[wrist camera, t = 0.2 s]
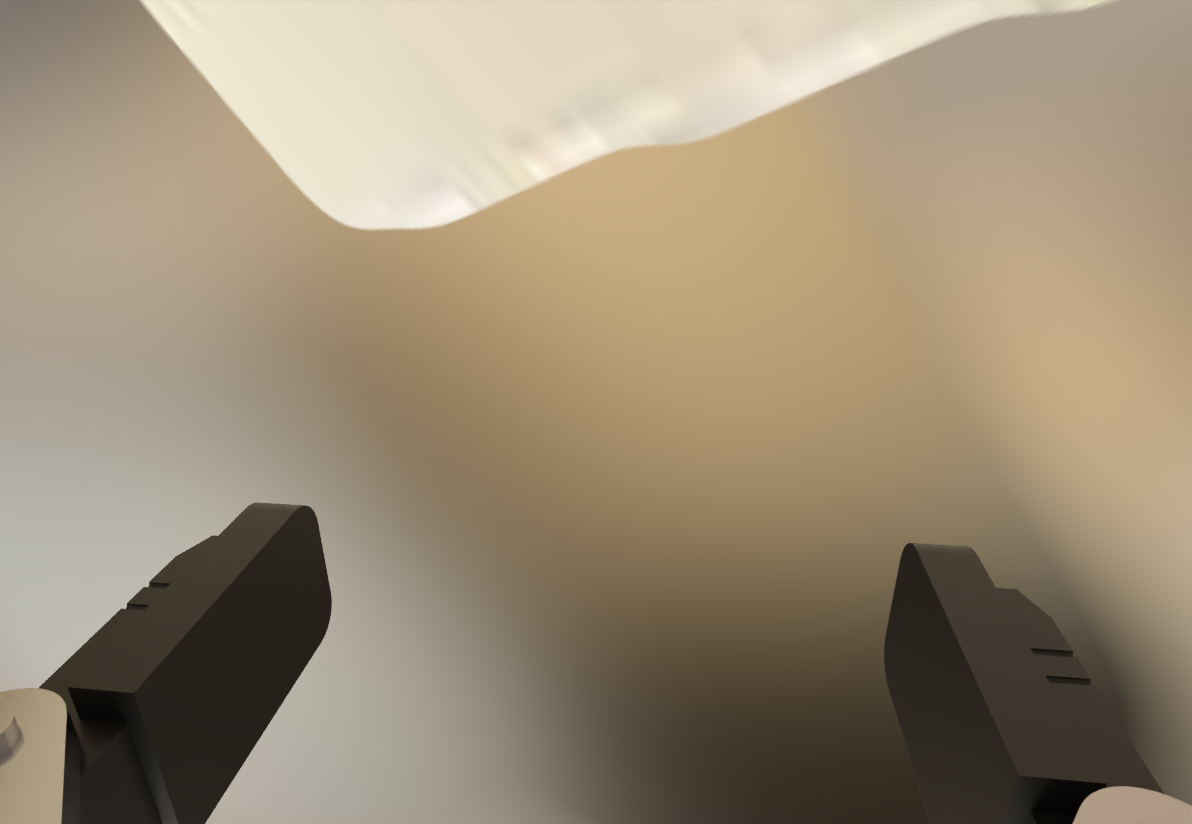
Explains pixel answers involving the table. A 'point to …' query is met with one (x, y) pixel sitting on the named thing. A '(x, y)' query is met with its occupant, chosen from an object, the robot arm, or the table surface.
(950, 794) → the robot arm
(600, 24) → the table surface
